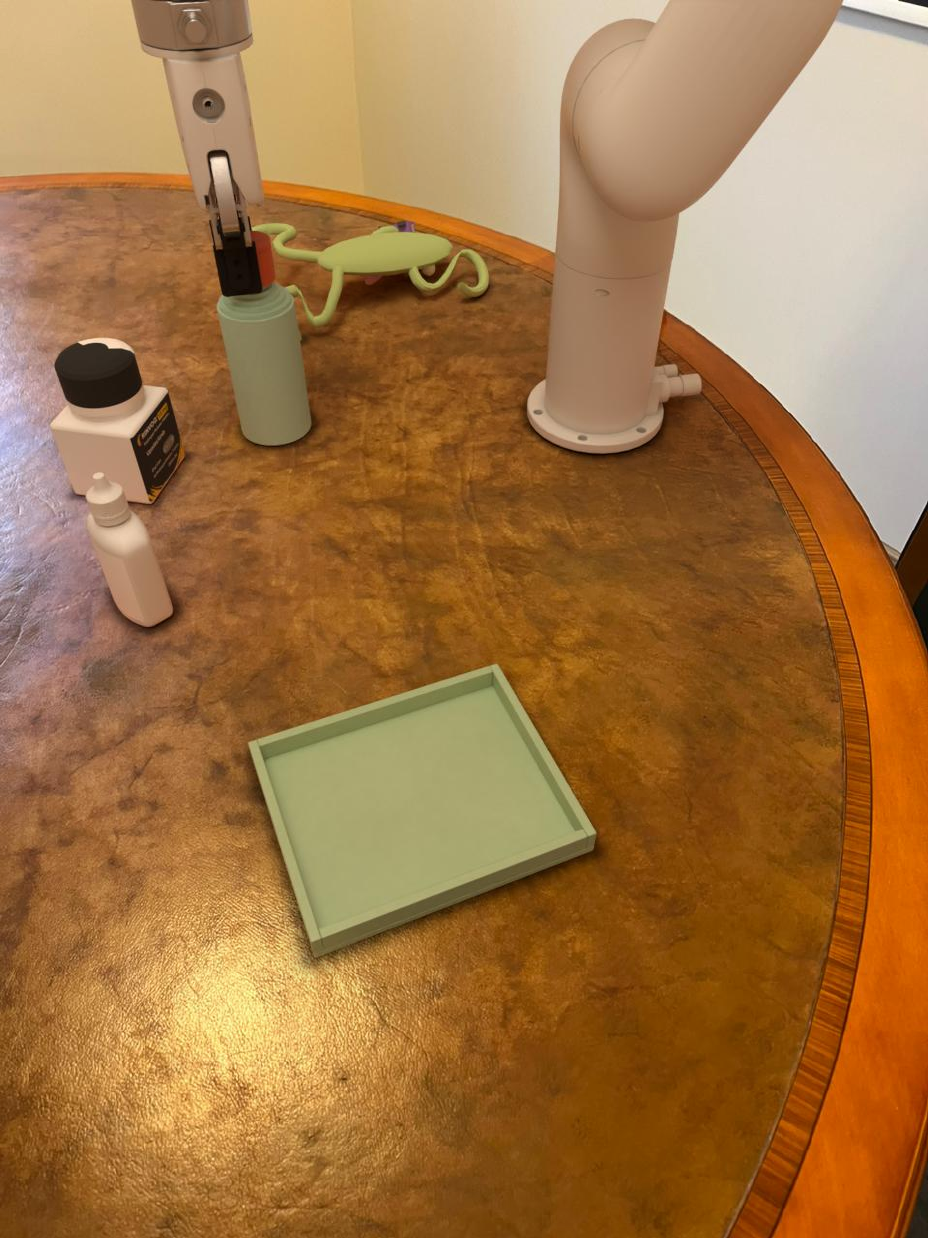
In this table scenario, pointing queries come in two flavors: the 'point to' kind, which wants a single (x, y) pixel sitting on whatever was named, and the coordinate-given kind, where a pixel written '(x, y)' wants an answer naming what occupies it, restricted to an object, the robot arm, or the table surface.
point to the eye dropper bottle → (126, 555)
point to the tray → (414, 805)
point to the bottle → (266, 365)
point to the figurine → (377, 260)
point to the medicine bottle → (114, 421)
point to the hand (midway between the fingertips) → (239, 277)
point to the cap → (264, 257)
